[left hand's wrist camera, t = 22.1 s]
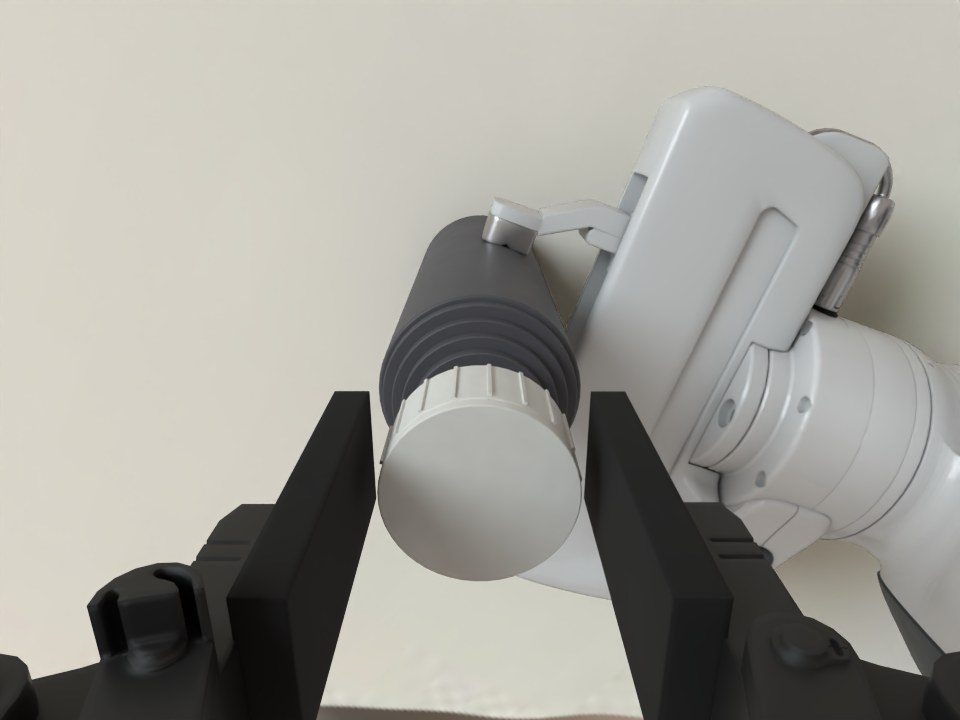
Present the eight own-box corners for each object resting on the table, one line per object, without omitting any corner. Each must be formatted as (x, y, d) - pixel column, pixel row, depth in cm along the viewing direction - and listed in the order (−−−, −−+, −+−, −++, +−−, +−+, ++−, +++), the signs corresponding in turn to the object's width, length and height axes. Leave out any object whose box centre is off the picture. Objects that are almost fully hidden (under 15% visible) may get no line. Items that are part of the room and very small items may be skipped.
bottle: (441, 199, 30) (385, 318, 12) (553, 236, 30) (653, 399, 13) (409, 309, 31) (321, 549, 14) (515, 341, 32) (558, 611, 15)
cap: (504, 326, 14) (508, 361, 12) (603, 467, 15) (622, 522, 13) (352, 424, 14) (331, 473, 12) (458, 551, 16) (455, 614, 14)
